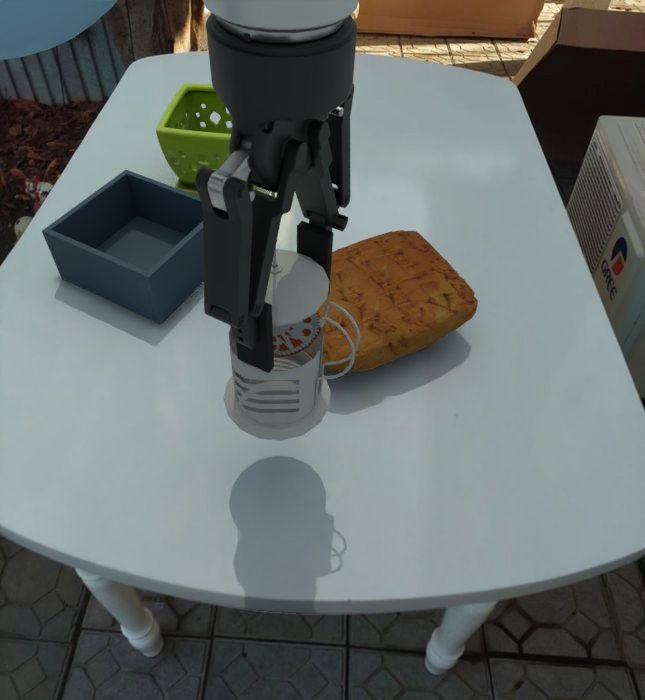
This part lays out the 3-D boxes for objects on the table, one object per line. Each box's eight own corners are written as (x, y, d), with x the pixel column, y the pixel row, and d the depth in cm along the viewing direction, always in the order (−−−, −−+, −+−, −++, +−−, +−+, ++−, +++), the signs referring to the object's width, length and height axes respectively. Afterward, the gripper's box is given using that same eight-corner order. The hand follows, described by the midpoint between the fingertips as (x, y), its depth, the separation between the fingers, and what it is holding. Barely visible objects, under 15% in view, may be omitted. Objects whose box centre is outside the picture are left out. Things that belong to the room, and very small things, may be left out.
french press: (245, 344, 57) (225, 93, 39) (360, 372, 56) (398, 124, 37) (206, 424, 51) (158, 171, 32) (334, 458, 50) (363, 213, 31)
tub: (61, 278, 78) (41, 230, 72) (138, 216, 87) (125, 169, 81) (161, 324, 73) (148, 277, 67) (231, 253, 82) (225, 206, 76)
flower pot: (194, 155, 98) (182, 80, 88) (275, 165, 97) (273, 89, 87) (167, 205, 89) (151, 127, 79) (257, 216, 88) (252, 138, 78)
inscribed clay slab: (407, 260, 83) (415, 214, 76) (479, 344, 73) (495, 298, 67) (261, 307, 76) (258, 260, 70) (319, 406, 66) (321, 362, 60)
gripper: (223, 126, 22) (254, 446, 39) (431, -33, 34) (384, 265, 51) (69, 74, 24) (163, 400, 41) (316, -58, 36) (308, 236, 53)
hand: (285, 325), depth 46 cm, fingers closed on french press, 8 cm apart
